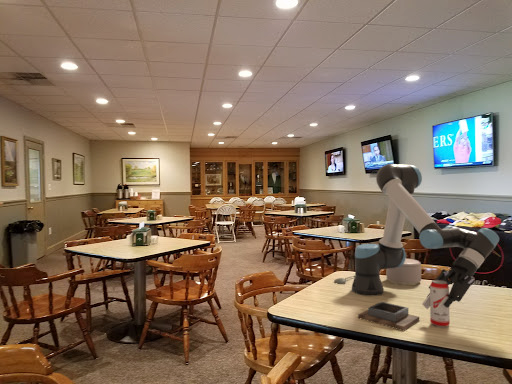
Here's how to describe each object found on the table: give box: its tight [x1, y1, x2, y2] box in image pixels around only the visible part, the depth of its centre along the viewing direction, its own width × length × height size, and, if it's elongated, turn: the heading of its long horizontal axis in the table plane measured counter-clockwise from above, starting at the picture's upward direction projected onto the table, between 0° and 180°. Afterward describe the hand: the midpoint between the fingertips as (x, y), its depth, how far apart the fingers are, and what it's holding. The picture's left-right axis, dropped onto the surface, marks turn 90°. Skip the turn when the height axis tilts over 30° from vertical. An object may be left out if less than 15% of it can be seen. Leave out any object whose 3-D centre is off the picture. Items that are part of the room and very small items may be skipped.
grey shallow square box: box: [367, 301, 409, 323], centre depth 134 cm, size 11×11×3 cm
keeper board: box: [357, 309, 420, 331], centre depth 134 cm, size 18×14×2 cm
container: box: [385, 258, 422, 286], centre depth 193 cm, size 18×18×12 cm
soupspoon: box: [333, 275, 355, 285], centre depth 196 cm, size 22×3×7 cm
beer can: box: [429, 279, 451, 328], centre depth 128 cm, size 6×6×16 cm
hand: (431, 309), depth 127 cm, fingers closed on beer can, 6 cm apart
